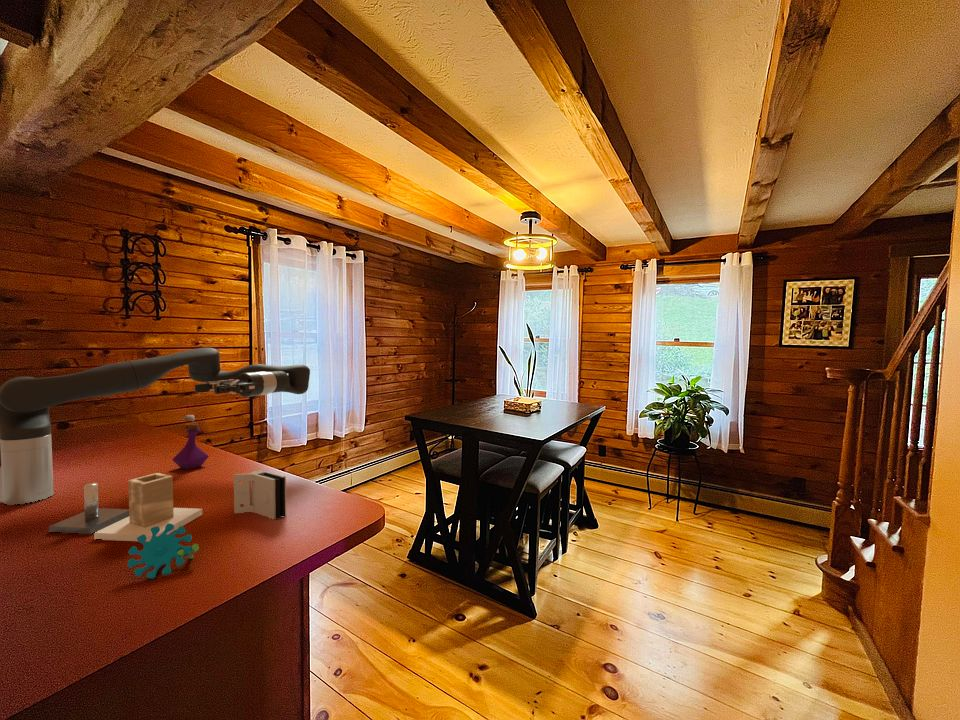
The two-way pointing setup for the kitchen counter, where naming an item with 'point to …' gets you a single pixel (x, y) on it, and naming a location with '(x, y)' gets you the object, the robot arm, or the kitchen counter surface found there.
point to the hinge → (260, 493)
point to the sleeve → (150, 499)
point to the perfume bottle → (190, 449)
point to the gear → (161, 551)
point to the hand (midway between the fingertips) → (205, 389)
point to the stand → (90, 515)
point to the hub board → (131, 531)
